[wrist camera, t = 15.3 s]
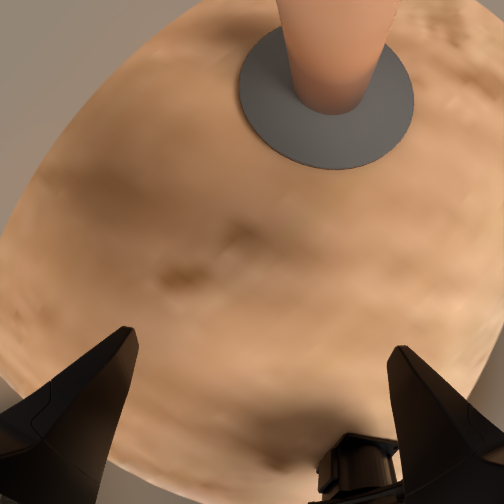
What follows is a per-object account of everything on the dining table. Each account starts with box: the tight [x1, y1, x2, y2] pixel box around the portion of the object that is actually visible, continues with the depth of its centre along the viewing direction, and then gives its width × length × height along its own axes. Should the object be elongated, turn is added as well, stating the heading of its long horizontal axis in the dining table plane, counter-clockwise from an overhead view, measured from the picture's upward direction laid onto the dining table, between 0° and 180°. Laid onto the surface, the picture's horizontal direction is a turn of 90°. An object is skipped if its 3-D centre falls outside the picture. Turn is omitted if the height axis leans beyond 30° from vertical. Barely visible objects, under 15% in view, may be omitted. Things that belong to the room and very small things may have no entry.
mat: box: [239, 26, 414, 170], centre depth 17 cm, size 13×13×1 cm
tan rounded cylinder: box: [276, 0, 401, 115], centre depth 11 cm, size 5×5×12 cm
